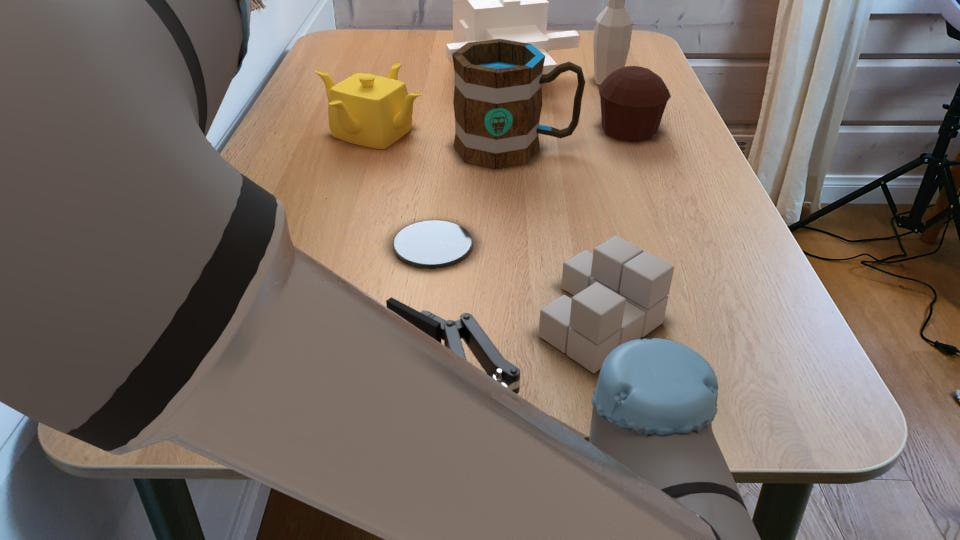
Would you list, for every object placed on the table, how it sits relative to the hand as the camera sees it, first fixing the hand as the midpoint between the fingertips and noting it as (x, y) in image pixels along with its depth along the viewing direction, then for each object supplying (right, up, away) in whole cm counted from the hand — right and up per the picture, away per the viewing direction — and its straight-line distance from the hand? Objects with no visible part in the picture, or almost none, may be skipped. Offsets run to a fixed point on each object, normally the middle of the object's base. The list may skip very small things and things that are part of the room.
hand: (340, 345), depth 70 cm
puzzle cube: (+25, +1, +12) cm, 28 cm away
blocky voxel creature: (+19, +44, +70) cm, 85 cm away
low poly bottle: (+37, +42, +66) cm, 87 cm away
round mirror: (+7, +10, +24) cm, 27 cm away
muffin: (+38, +30, +51) cm, 70 cm away
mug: (+19, +26, +45) cm, 55 cm away
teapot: (-4, +29, +49) cm, 58 cm away
